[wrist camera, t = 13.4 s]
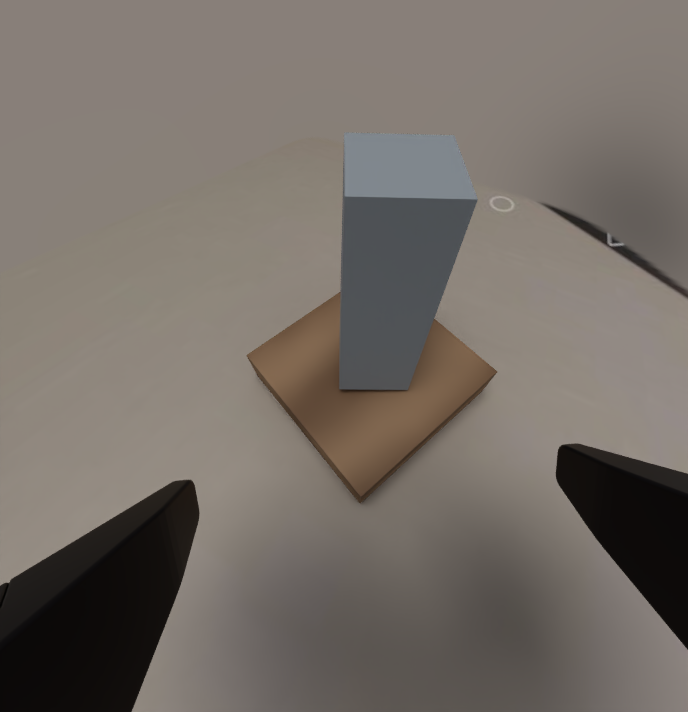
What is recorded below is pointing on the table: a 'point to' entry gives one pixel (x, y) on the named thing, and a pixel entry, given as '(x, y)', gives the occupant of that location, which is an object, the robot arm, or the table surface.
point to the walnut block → (365, 397)
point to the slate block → (396, 250)
